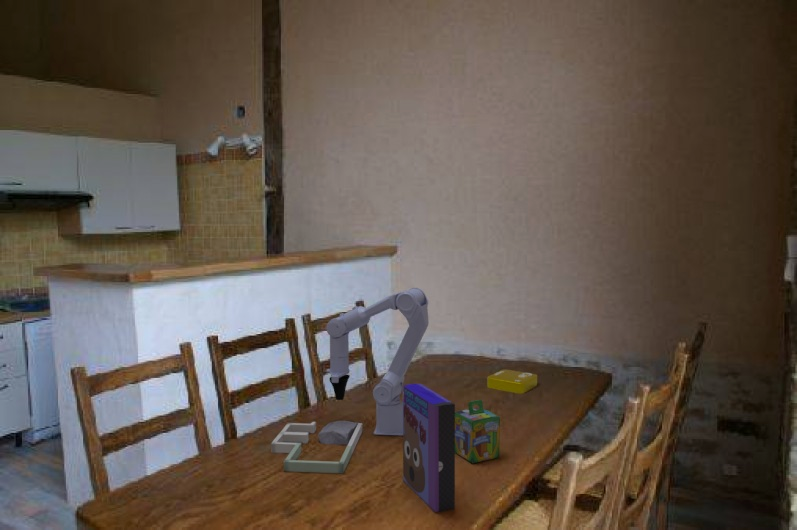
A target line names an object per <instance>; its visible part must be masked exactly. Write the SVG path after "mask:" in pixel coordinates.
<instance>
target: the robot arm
mask: <svg viewBox="0 0 797 530" xmlns="http://www.w3.org/2000/svg"><path fill="white" fill-rule="evenodd" d="M428 305H429V299H428V298H427V296H426V293H425V292H424V291H423V290H422V289H421V288H418V287H412V288H410V289H408V290H403V291H400V292H397V293H393V294H391V295H388V296H386V297H384V298H382V299H380V300H378V301H377V302H375V303H372V304H370V305H369V306H367V307H364V306H362V305H360V306H357V305H355V306H353V307H351V310H349V311H347V312H346V313H344V312H342V313H340V314H339V316H338V317H335V318H331V319H330V320H329V321H328V322H327V323H326V331H327V334H328V335H329V363H330V364H329V368H326V371H325V372H326V373H327V374H328V373H329V374H330V377H329V382H330V384H331V387H332V389H333V392H334V396H335V400H337V401H343V400H344V398H345V394H346V388H347V384H348V381H349V380H350V376H351V375H350V374H349V373H350V371H351V370H350V364H349V363H350V359H349V358H350V356H349V355H350V354H349V353H350V352H349V351H350V350H349V343H350V342H349V334H350V333H351V332H352V331H355V330H357V329H359V328H361V327H363V326H366V325H367V324H369V323H370V320H371V318H372V317H373V316H376V315H378V314H381V313H383V312H385V311H387V310H391V309H392V310H393V311H397V310H399V312H400V313H401V314H402V315H403V316H404V318H405V319H406V320H407V323H408V325H409V326H408V327H407V330H406V332H405V333H404V336H403V337H402V340H401V342H400V344H399V346H398V349H397V351H396V353H395V355H394V357H393V359H392V361H391V363H390V366H389V368H388V370H387V371H386V373H385V374H384V376H382V378H381V380H380V381H379V383H378V384H376V385H375V386H374V388H373V390H372V396H373V399H374V400H375V402H376V406H375V407H376V408H375V409H376V410H375V411H376V421H375V422H376V426H375V429H374V431H373V435H376V436H378V435H381V436H403V401H401V398H400V395H401V394H402V393H403V386H404V381H405V379H406V378H405V374H406V372H407V371H408V368H409V367H410V364H411V362H412V361H413V358H414V356H415V353H416V351H417V350H418V347H419V345H420V343H421V341H422V339H423V337H424V335H425V333H426V331H427V330H428V326H429V311H428V310H429V309H428Z"/></svg>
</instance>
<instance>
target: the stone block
mask: <svg viewBox="0 0 797 530" xmlns="http://www.w3.org/2000/svg"><path fill="white" fill-rule="evenodd" d="M358 423H359V422H353V421H348V420H337V421H332V422H329V423H327V424H326V425H325V426H324V427H322V429H321V430H320V431H319V432H318V434H317V435H318V437H317V438H318V441H319V442H320V444H324V445H333V446H334V445H336V446H337V445H338V446H347V445H348V443H349V441H350V439H351V437H352V435H353V433H354V431H355V429H356V427H357V425H358Z"/></svg>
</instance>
